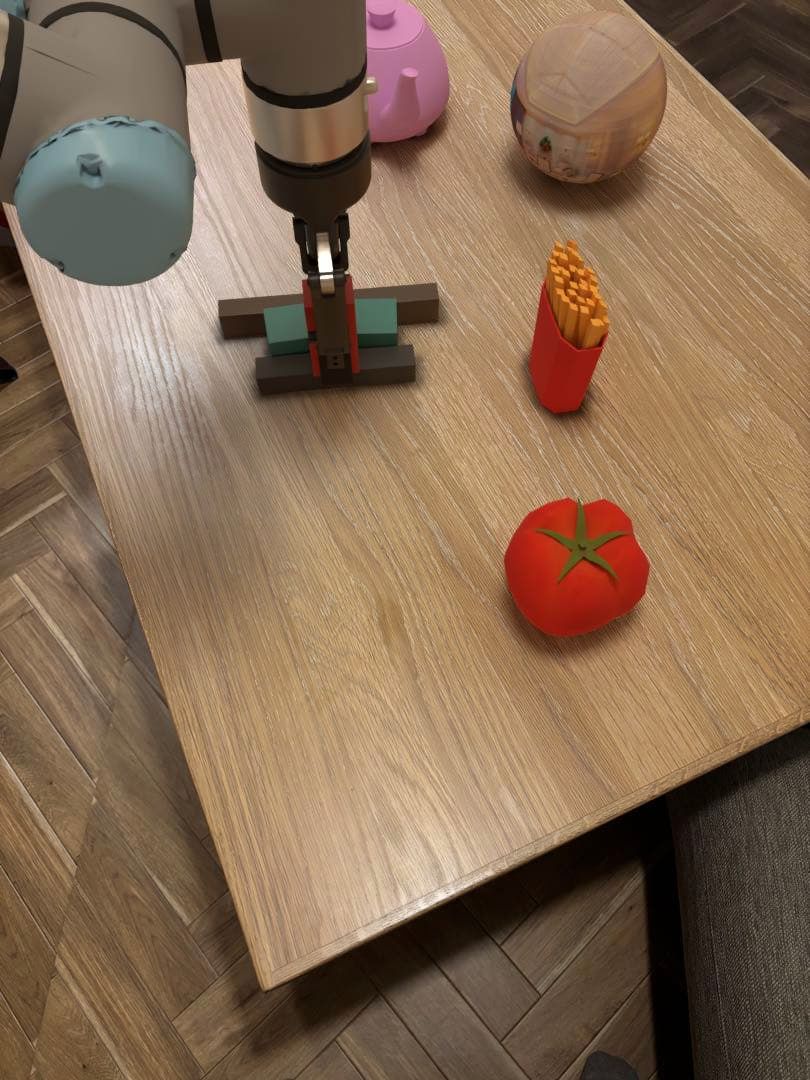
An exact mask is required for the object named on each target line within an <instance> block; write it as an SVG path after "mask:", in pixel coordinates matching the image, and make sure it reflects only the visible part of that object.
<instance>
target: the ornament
mask: <svg viewBox="0 0 810 1080" xmlns="http://www.w3.org/2000/svg"><path fill="white" fill-rule="evenodd" d="M511 84H512V85H511V89H510V96H509V97H510V99H509V111H510V120H511V125H512V129H513V134H514V136H515V138H516V141H517V143H518V145H519V147H520V149H521V150H522V152H523V154H524V155H525V156H526V158H527V159H528V160H529V161H530V162H531V163H532V164H533V165H534V166H535V167H536V168H537V169H538V170H540V171H541V172H543V173H544V174H546V175H547V176H549V177H552V178H554V179H557V180H559V181H562V182H565V183H566V182H567V183H570V184H571V183H572V184H590V183H597V182H601V181H604V180H607V179H610V178H612V177H614V176H616V175H618V174H621V173H622V172H623V171H624V170H626V169H628V168H629V167H631V166H632V165H633V164H634V163H635V162H636V161H637V160H638V159H639V158H641V157H642V155H643V154H644V153H645V152H646V150H647V149H648V148H649V147H650V145H651V144H652V142H653V140H654V138H655V137H656V135H657V133H658V131H659V129H660V127H661V124H662V121H663V118H664V115H665V111H666V107H667V99H668V80H667V72H666V67H665V63H664V60H663V57H662V55H661V52H660V50H659V48H658V46H657V44H656V43H655V42H654V40H653V39H652V37H651V36H650V35H649V34H648V33H647V31H646V30H645V29H643V28H642V27H641V25H639V24H638V23H637V22H635V21H633V20H632V19H630V18H628V17H626V16H625V15H621V14H619V13H616V12H613V11H609V10H586V11H580V12H576V13H572V14H569V15H568V16H565V17H563V18H561V19H559V20H557V21H555V22H554V23H552V24H551V25H549V26H548V27H546V28H545V29H544V30H543V31H542V32H541V33H540V34H539V35H538V36H537V37H536V38H535V39H533V41H532V43H531V44H530V45H529V47H528V48H527V50H526V51H525V52H524V53H523V56H522V57H521V60H520V61H519V64H518V66H517V68H516V70H515V73H514V77H513V80H512V83H511Z"/></svg>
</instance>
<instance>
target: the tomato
mask: <svg viewBox="0 0 810 1080" xmlns="http://www.w3.org/2000/svg"><path fill="white" fill-rule="evenodd" d="M503 564H504V570H505V575H506V580H507V581H506V582H507V585H508V590H509V592H510V594H511V595H512V597H513V599H514V602H515V604H516V606H517V608H518V610H519V611H520V612H521V614H523V616H524V617H525V619H526V620H527V621H528V622H529V623H530V624H531V625H532V626H534V628H536V629H538V630H540V631H541V632H542V633H544V634H545V635H547V636H552V637H557V638H568V637H574V636H580V635H584V634H587V633H591V632H593V631H596V630H600V629H601V628H603V627H604V626H606V625H607V624H609V623H610V622H611V621H613V620H616V619H617V618H620V617H622V616H625V615H626V614H628V613H629V614H630V612H631V611H632V610H633V609H634V608H635V606H637V604H638V603H639V602H640V601H641V599H643V597H644V596H645V594H646V591H647V590H646V589H647V585H648V579H649V574H650V567H651V565H650V562H649V560H648V558H647V555H646V554H645V552H644V551H643V549H642V547H641V546H640V544H639V542H638V541H637V538H636V536H635V532H634V526H633V521H632V519H631V518H630V517H629V516H628V515H627V514H626V512H624V510H623V509H622V508H621V507H620V506H619V505H617V504H615V503H613V502H611V501H610V500H608V499H605V498H601V499H598V500H594V501H591V502H587V503H584V504H582V501H581V499H580V497H579V496H577V501H576V500H575V499H572V498H570V497H564V498H561V499H556V500H554V501H549V502H547V503H545V504H543V505H541V506H539V507H538V508H535V509H534V510H532V511H530V512H528V513H527V515H525V517H524V518H523V520H522V521H521V523H520V524H519V525H518V527H517V528H516V530H515V531H514V533H513V534H512V537H511V539H510V541H509V544H508V545H507V548H506V550H505V553H504V556H503Z"/></svg>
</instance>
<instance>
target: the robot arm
mask: <svg viewBox="0 0 810 1080" xmlns="http://www.w3.org/2000/svg"><path fill="white" fill-rule="evenodd" d="M227 60H229V61H230V60H240V67H241V70H240V71H241V73H240V74H241V75H240V76H241V80H242V86H243V91H244V98H245V103H246V110H247V116H248V121H249V125H250V127H249V128H250V132H251V136H252V137H253V139H254V140H253V141H254V149H255V155H256V156H255V157H256V162H257V167H258V168H257V169H258V172H259V179H260V184H261V187H262V189H263V191H264V193H265V195H266V196H267V198H268V199H269V200H270V201H271V202H272V203H273V204H274V205H275V206H277V207H278V208H279V209H281V210H283V211H286V212H287V213H290V214H292V215H293V216H292V217H291V219H292V228H293V229H292V231H293V238H294V242H295V243H296V244H297V246H298V248H299V255H300V262H301V270H302V273H303V274H305V275H307V278H306V279H307V285H308V286H309V287H310V292H311V298H312V305H313V313H314V320H315V328H316V329H315V331H308V343H309V344H316V343H317V345H316V349H317V351H318V358H319V366H320V374H321V381H322V386H323V385H335V384H346V383H353V377H352V364H351V350H350V348H351V342H350V338H349V336H350V334H349V327H348V320H347V307H346V292H345V284H346V283H347V276H351V273H346V272H348V270H349V269H350V262H349V249H348V241H349V240H350V238H351V228H350V217H349V212H348V209H350V208H352V207H354V205H356V204H357V203H359V201H361V199H362V198H364V196H365V194H366V193H367V192H368V190H369V187H370V185H371V181H372V172H373V171H372V148H371V146H372V144H371V143H370V132H369V129H368V126H369V109H368V97H367V95H370V94H375V93H377V91H378V82H377V80H376V78H375V77H367V30H366V0H0V202H1V203H5V204H7V205H11V206H13V207H15V210H16V216H17V219H18V224H19V227H20V230H21V233H22V236H23V237H24V239H25V241H26V243H27V245H29V247H30V248H31V249H32V251H33V252H34V253H36V255H38V256H39V258H40V259H44V260H45V261H46V262H47V263H49V264H51V265H52V266H53V267H55V268H56V269H57V270H58V272H59V273H60V274H62V275H64V276H66V277H68V278H70V279H73V280H76V281H77V282H78V281H79V282H81V283H86V284H89V285H93V286H99V287H127V286H134V285H138V284H139V285H140V284H142V283H145V282H146V283H147V282H148V281H151V280H153V279H155V278H157V277H160V276H161V275H163V274H165V273H166V272H167V271H168V270H170V269H171V268H172V267H173V266H174V265H176V263H178V261H180V258H181V257H182V255H183V254H184V253H186V251H188V246H189V243H190V241H191V237H192V233H193V225H194V207H195V201H194V200H195V180H196V178H197V173H198V172H197V165H196V164H197V163H196V161H195V158H194V155H193V153H192V144H191V136H190V134H191V133H190V124H189V123H190V122H189V112H188V85H187V84H188V83H187V68H186V67H188V66H196V65H205V64H214V63H215V64H216V63H223V61H227Z"/></svg>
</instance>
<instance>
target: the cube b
mask: <svg viewBox="0 0 810 1080" xmlns="http://www.w3.org/2000/svg"><path fill="white" fill-rule="evenodd" d="M354 300H355V312H356V327H357V342H358V349H361V348H373V347H384V346H396V345H398V324H397V302H396V298H391V299H354Z"/></svg>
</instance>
